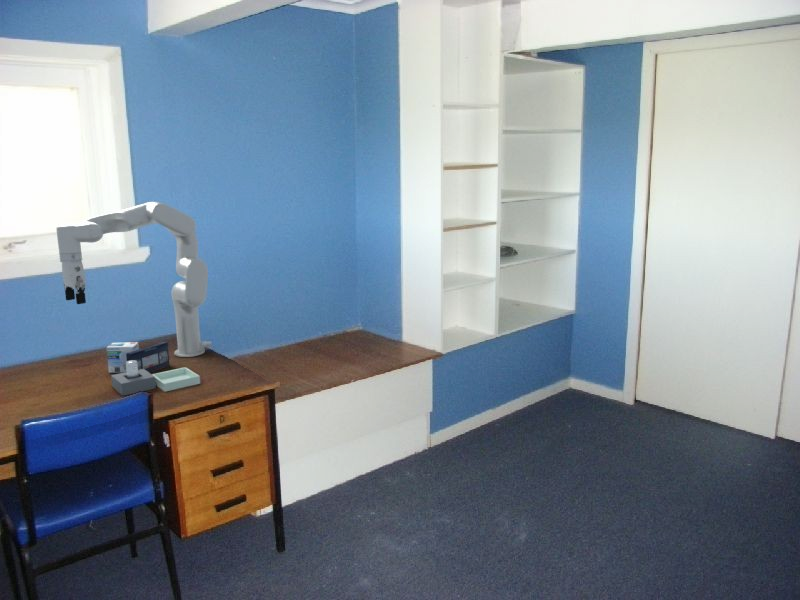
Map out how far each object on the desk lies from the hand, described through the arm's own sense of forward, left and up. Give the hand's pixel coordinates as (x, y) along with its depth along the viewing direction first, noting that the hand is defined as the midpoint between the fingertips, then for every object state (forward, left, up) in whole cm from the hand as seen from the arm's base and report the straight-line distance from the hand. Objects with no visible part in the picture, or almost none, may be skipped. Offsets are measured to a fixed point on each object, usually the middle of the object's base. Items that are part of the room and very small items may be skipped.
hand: (75, 301), depth 260 cm
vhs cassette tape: (-22, +10, -30) cm, 39 cm away
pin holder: (-11, +25, -30) cm, 40 cm away
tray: (-25, +30, -30) cm, 49 cm away
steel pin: (-11, +25, -30) cm, 41 cm away
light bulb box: (-15, +2, -30) cm, 34 cm away
